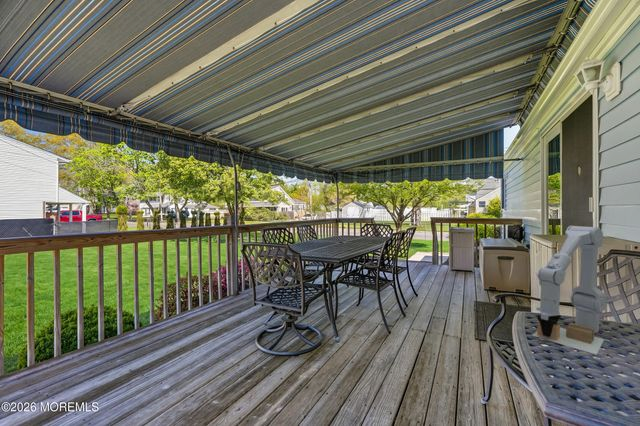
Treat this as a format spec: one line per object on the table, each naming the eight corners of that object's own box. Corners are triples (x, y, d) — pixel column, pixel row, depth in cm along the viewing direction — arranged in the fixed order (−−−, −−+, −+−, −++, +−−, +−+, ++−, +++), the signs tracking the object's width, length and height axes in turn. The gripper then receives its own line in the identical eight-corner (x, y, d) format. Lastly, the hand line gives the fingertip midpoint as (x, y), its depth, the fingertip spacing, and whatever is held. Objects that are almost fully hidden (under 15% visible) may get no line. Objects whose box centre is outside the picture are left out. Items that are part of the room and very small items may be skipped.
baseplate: (545, 325, 123) (545, 323, 123) (604, 341, 109) (604, 339, 109) (531, 337, 110) (531, 335, 110) (596, 356, 96) (596, 354, 96)
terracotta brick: (540, 331, 114) (540, 320, 114) (559, 337, 109) (560, 325, 109) (537, 334, 111) (537, 322, 111) (556, 340, 107) (557, 328, 107)
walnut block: (569, 332, 114) (570, 322, 114) (593, 339, 109) (594, 328, 109) (565, 337, 110) (566, 326, 110) (590, 344, 104) (591, 333, 104)
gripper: (542, 293, 118) (540, 326, 118) (531, 299, 109) (530, 335, 109) (564, 298, 112) (562, 332, 113) (555, 304, 103) (553, 342, 103)
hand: (548, 334), depth 110 cm, fingers open, 5 cm apart
